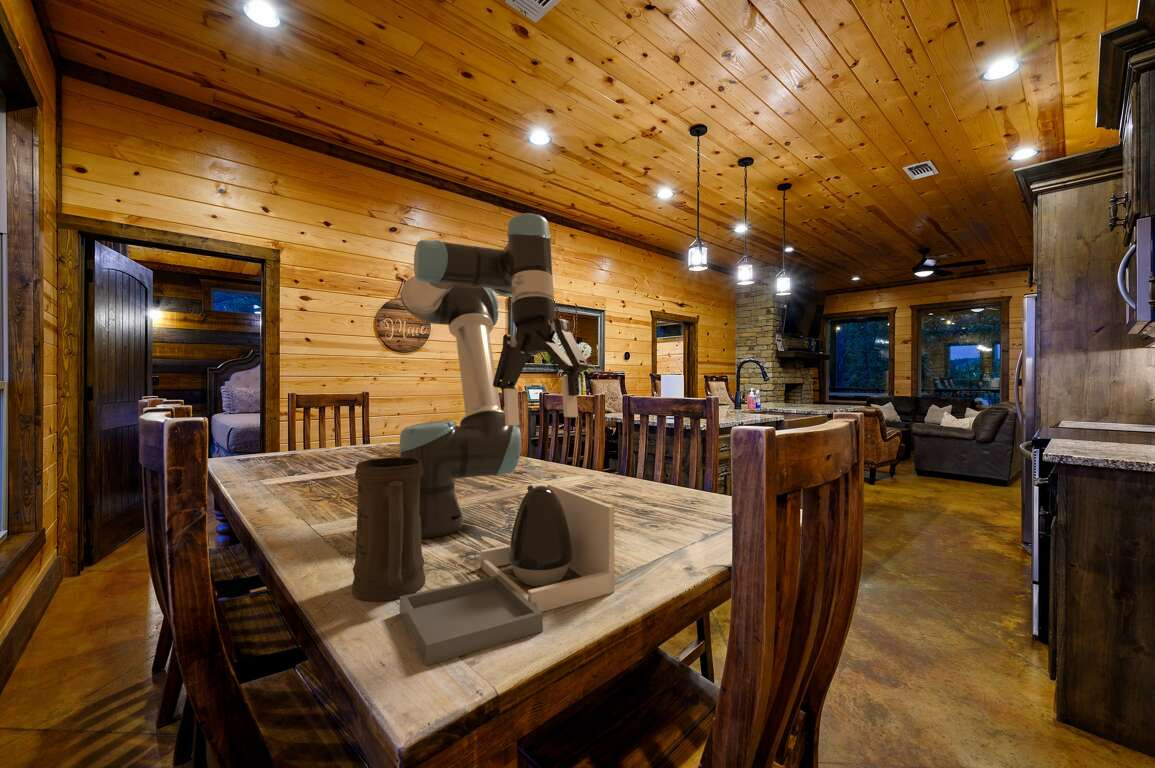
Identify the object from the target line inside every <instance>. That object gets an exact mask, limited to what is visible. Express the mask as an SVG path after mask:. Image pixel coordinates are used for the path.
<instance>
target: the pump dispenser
mask: <svg viewBox="0 0 1155 768" xmlns="http://www.w3.org/2000/svg"><path fill="white" fill-rule="evenodd" d="M526 488H527V492H526V494H525V495H524V497H523V498H522V500H521V502H520V504H519V507H518V509H517V512H516V516H515V520H514V522H513V527H512V530H511V531H512V532H511V534H510V535H511V537H510V541H509V545H510V548H509V561H510V563H511V564H510V565H511V569H512V571H513V573H514V575H515V577H516V578H517V579H518V580H519V581H520V582H521V583H523V584H525V585H528V586H532V587H536V588H539V587H544V586H548V585H552V584H556V583H559V581H561V580H562V579H563V578H564V576H565V575H566V573H567V572H568V570H569V569H570V568H569V564H570V561H571V560H572V545H571V538H570V532H569V528H568V524H567V520H566V516H565V513H564V510H563V507H562V505H561V502H560V500H559V498H558V497H557V495H556V493H555V492H554V491H553V490H552V489H550V488H548V487H547V485H537V486H533V485H528V486H527V487H526Z"/></svg>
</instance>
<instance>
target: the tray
mask: <svg viewBox="0 0 1155 768" xmlns="http://www.w3.org/2000/svg"><path fill="white" fill-rule="evenodd" d="M399 615H400V618H401V619H402V621H403V623H404V625H405V626H406V629H407V632H408V633H409V635H410V637H411V638H412V640H413V642H414V644H415V646H416V649H417V651H418V652H419V654H420V657H421V659H422V660H423V662H424V664H425V666H426V667H428V666H431V665H434V664H439V663H442V662H444V661H449V660H451V659H454V658H455V659H456V658H458V657H461V656H465V655H468V654H472V653H474V652H475V653H476V652H478V651H481V650H485V649H489V648H491V647H495V646H499V645H502V644H506V643H508V642H512V641H515V640H518V639H522V638H525V637H529V636H532V635H535V634H539V633H542V632H543V630H544V629H543V628H544V623H543V622H544V615H543V612H541V611H539V610H538V609H537V608H536V607H535V606H534V605H533V604H531V603H530V602H529V601H528V600H527V599H526V598H525V597H524V596H522V595H521V594H520V593H519V592H518V591H517V590H516V589H514V588H513V587H512V586H511V585H510V584H509V583H508V582H506V581H505V580H504V579H503V578H502V577H501V576H500V575H497V576H492V577H490V576H488V577H484V578H480V579H479V578H478V579H475V580H470V581H467V582H466V581H465V582H461V583H457V584H456V583H455V584H452V585H447V586H443V587H437V588H433V589H429V590H424V591H420V592H414V593H412V594H409V595H405V596H400V598H399Z"/></svg>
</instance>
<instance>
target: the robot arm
mask: <svg viewBox="0 0 1155 768" xmlns="http://www.w3.org/2000/svg"><path fill="white" fill-rule="evenodd" d="M549 226H550V225H549V222H548V220H547V219H546V218H545V217H543V216H542V215H541V214H536V213H530V212H529V213H527V212H525V213H519V214H517V215H515V216H513V217H511V218H510V219H509V221H508V223H507V232H506V235H507V239H508V242H507V244H506V245H504V246H505V247H504V248H503V249H498V248H491V247H483V246H477V245H476V246H475V245H469V244H461V243H454V242H446V241H441V240H438V239H437V240H425V239H424V240H423V239H422V240H421V239H420V240H419V241H418V242H416V244H415V249H414V254H413V256H414V257H413V273H414V276H411V277H410V278H408V279H407V280H406V281H405V282H404V283H403V285H402V287H401V290H400V301H401V304H402V306H403V308H404V309H405V310H406V312H407V313H408V314H410V315H411V316H413V317H414V318H415V319H417V320H420V321H422V322H424V323H426V324H433V325H444V326H445V325H446V326H448V330H449V334H450V335H452V336H453V337H454V338H455V339H456V349H457V356H458V357H457V359H458V362H459V364H458V365H459V373H460V374H459V375H460V382H461V388H462V389H461V391H462V396H463V397H462V398H463V405H464V414H465V415H464V416H463V417H462V418H461V419H460V421H459V426H456V422H455V421H454V420H453V419H451V420H449V419H448V420H447V419H446V420H445V419H444V420H436V421H435V420H434V421H428V422H422V423H418V424H417V423H416V424H412V425H409V426H406V427H404V428H403V429H402V430H401V432H400V434H399V447H398V453H399V457H406V458H416V459H419V460H421V461H422V465H423V470H424V473H423V475H422V476H421V478H420V502H419V515H420V518H421V539H428V538H436V537H437V538H438V537H442V536H443V537H444V536H446V535H450V534H453V533H455V532H458V531H459V530H461V529H462V528H463V525H464V524H463V513H462V509H461V507H460V503H459V501H458V497H457V496H456V495H457V494H456V491H455V489H456V488H455V487H456V486H455V480H456V479H463V478H464V479H465V478H477V477H478V478H479V477H490V476H491V477H492V476H494V477H496V476H499V475H506V474H511V473H512V472H514V470H515V469H516V467H517V466H518V463H519V461H520V456H521V452H522V450H521V449H522V432H521V428H520V427H519V426H520V411H519V409H520V408H519V395H518V392H519V391H518V389H517V388H516V384H517V383H518V380H519V378H520V377H521V374H522V372H523V370H524V368H525V366H526V364H527V361H528V360H529V359H531V357H532V356H535V355H538V354H539V353H546V354H548V355H549V356H550V358H551V359H552V360H553V361H554V362H555V364H557V366H558V367H559V368H560V369H561V371H562V372H563V373H562V375H563V376H560V377H561V390H562V391H561V393H562V407H563V408H562V410H563V417H564V418H579V411H578V410H579V409H578V396H579V395H580V391H581V390H580V380H579V376H580V374H582V373H583V372H586V371H588V369H589V364H588V362H587V360H586V359H585V356H584V354H583V353H582V351H581V349H580V347H579V345H578V343H577V342H576V340H575V338H574V335H573V334H572V332H571V326H570V322H569V320H566V319H563V318H562V319H561V318H558V317H557V318H556V310H555V309H556V305H555V302H554V299H555V289H554V278H553V277H554V275H553V264H552V245H551V244H552V243H551V242H552V238H551V233H550V227H549ZM496 294H498V295H500V296H501V297H511V300H512V302H513V303H512V304H511V310H512V311H511V313H512V322H513V324H514V326H515V327H516V331H515V334H506V333H505V334H504V335H503V336H502V349H501V353H500V356H499V359H498V363H497V368H496V369H495V362H494V357H493V351H492V350H493V349H492V345H491V338H490V333H491V332H492V331H493V329H494V327H495V326H496V325H497V323H498V319H499V310H498V309H499V301H498V297H497V295H496ZM555 334H556V335H557V338H558V340H559V342H560V345H561V346H562V347H563V350H564V351H563V350H562V349H561V347H560V345H559V344H558V343H557V341H556V340H555V339H554V336H555ZM565 353H566V354H565ZM499 389H500V390H501V395H502V397H501V399H502V400H501V401H502V407H503V408H504V410H502V407H501V401H500V394H499V393H500V392H499Z"/></svg>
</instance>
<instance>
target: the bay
mask: <svg viewBox="0 0 1155 768" xmlns="http://www.w3.org/2000/svg"><path fill="white" fill-rule="evenodd" d="M546 487H548V488H550V489H552V490H553V491H554V492H555V493H556V495H557V497H558V498H559V500H560V502H561V505H562V507H563V510H564V513H565V516H566V520H567V524H568V528H569V532H570V538H571V545H572V560H571V561H570V564H569V568H568V569H570V570H572V571H573V572H575V573H576V574H577V575H579V576H580V577H577V578H574V579H573V578H572V579H569V580H568V579H567V580H565V581H561V582H556V583H554V584H552V585H548V586H543V587H536V588H532V589H528V590H527V592H526V591H524V590H523V589H522V588H521V587H520V586H519V585H518V584H516V582H514V581H513V580H512V579H510V578H509V577H508V575H506V574H505V573H503V572H502V571H501V570H500V569H499V568H498V567H501V566H507V565H511V563H510V561H509V548H510V544H509V545H507V544H506V545H502V546H497V547H491V548H486V549H480V554H479V555H480V557H479V559H480V562H479V563H480V564H479V565H480V566H479V567H480V569H481V570H482V571H483V572H484V573H485V574H487V576H488V577H492V576H497V575H500V576H501V577H502V578H503V579H504V580H505V581H506V582H508V583H509V584H510V585H511V586H512V587H513V588H514V589H516V590H517V591H518V592H519V593H520V594H521V595H522V596H524V597H525V598H526V599H527V600H528V601H529V602H530V603H531V604H533V605H534V606H535V607H536V608H537V609H538V610H539V611H541V612H542V613H543V612H546V611H550V610H554V609H558V608H561V607H565V606H569V605H572V604H576V603H577V604H578V603H581V602H584V601H587V600H590V599H591V600H592V599H594V598H597V597H601V596H605V595H609V594H614V593H615V505H611V504H609V503H605V502H603V501H600V500H598V499H594V498H592V497H590V496H586V495H583V494H581V493H578V492H575V491H573V490H570V489H567V488H565V487H562V486H559V485H556V484H553V483H548V484H546Z"/></svg>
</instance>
